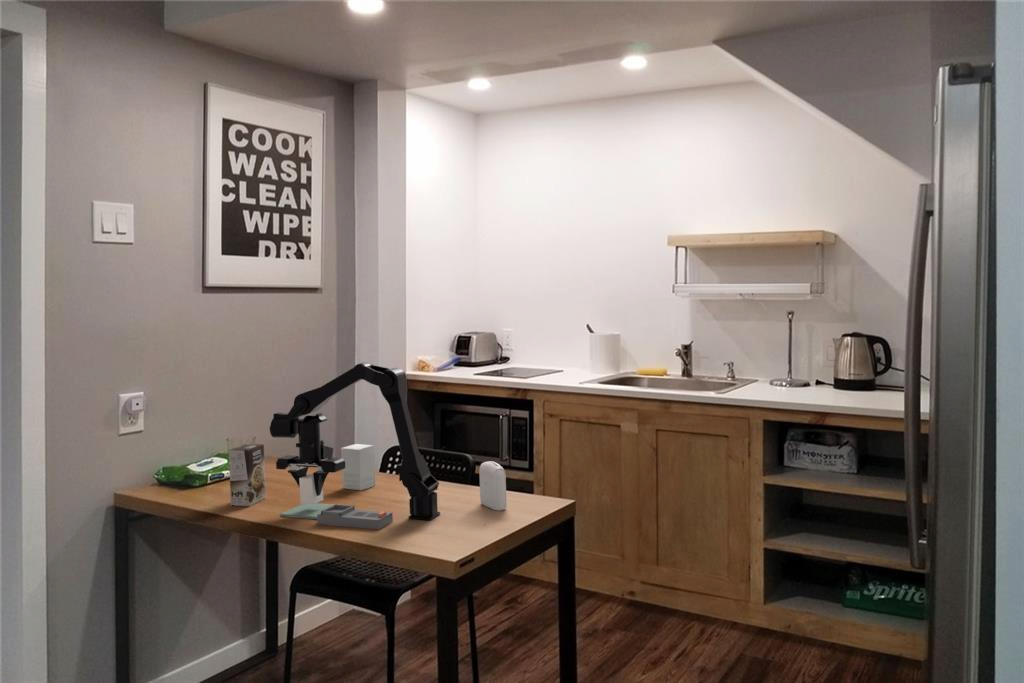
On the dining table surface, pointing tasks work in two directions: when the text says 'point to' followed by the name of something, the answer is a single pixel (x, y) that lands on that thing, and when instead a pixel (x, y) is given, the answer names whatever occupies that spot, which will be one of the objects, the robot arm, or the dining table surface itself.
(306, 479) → the charger
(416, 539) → the dining table surface
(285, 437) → the robot arm
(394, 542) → the dining table surface
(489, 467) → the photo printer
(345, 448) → the supplement box
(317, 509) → the rubber mat
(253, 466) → the coffee box
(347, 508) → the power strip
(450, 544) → the dining table surface
